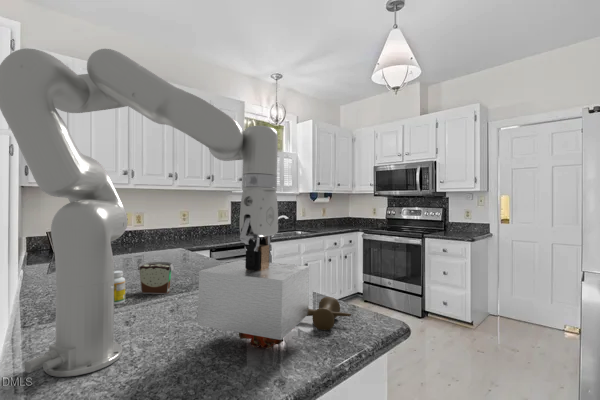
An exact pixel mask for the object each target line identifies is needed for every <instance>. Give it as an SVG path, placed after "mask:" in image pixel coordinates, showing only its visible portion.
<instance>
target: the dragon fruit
mask: <svg viewBox="0 0 600 400" xmlns="http://www.w3.org/2000/svg"><path fill="white" fill-rule="evenodd" d="M238 338H239V339H241V340H243V339H246V340H250V343H249V345H250V346H251V347H252V348H254V349H256V348H258V347H261V348H263V349H272V348H273V346H275V345H280V344H282V342H284V338H283V339H282V340H278V339H273V338H267V337H262V336H256V335H251V334H245V333H239V332H238Z"/></svg>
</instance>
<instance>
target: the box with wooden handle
mask: <svg viewBox="0 0 600 400" xmlns="http://www.w3.org/2000/svg"><path fill="white" fill-rule="evenodd" d="M258 251H260V270H247V269H246V268H245V265H246V259H244V260H243V259H238V260H234V261H230V262H227V263H223V264H219V265H217V266H212V267H208V268H205V269H201V270H199V272H198V302H197V303H198V304H197V305H198V306H197V307H198V308H197V326H201V327H208V328H212V329H217V330H224V331H228V332H229V331H230V332H234V333H238V334H239V333H245V334H251V335H256V336H262V337H267V338H273V339H278V340H282V339H283V340H284V338H285V337H287V335H288V334H289V333H290V332H291V331H293V329H294V328H296V327H297V326H298V325H299V324H300V323H301V322H302V321H303V320H304V319H305V318H306V317H308V316H307V315H308V309H310V307H309V302H310V300H309V299H310V265H301V264H289V263H282V262H281V263H278V262H270V248H269V245H260V244H259V250H258Z"/></svg>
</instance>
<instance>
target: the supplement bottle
mask: <svg viewBox="0 0 600 400" xmlns="http://www.w3.org/2000/svg"><path fill="white" fill-rule="evenodd" d="M123 276H124V272H123V270H114V306H115V305H120V304H123V303H125V301H126V278H125V277H123Z"/></svg>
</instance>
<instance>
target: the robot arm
mask: <svg viewBox="0 0 600 400" xmlns="http://www.w3.org/2000/svg"><path fill="white" fill-rule="evenodd" d="M86 70H87V71H86V72H87V73H84V74H77V73H76V72H74V70H72V69H71V68H70V67H69V66H67V64H65V63H64V62H62V61H61V60H60V59H59V58H57V57H55V56H53V55H52V54H50V53H48V52H46V51H43V50H40V49H36V48H27V47H26V48H20V49H17V50H14V51H12V52H11V53H9V54H8V55H7V56H5V58H4V59H3V60H2V61H1V63H0V112H1V114H2V116H3V118H4V119H5V120H4V121H5V122H6V123H7V125H8V127H9V128H10V131H11V132H12V134H13V137H14V139H15V141H16V143H17V146H18V147H19V150H20V152H21V154H22V156H23V158H24V159H25V162H26V164H27V166H28V168H29V170H30V172H31V175H32V177H33V179H34V181H35V183H36V184H37V186H38V188H39V190H41V191H42V192H44V193H45V194H46V195H49V196H52V197H56V198H65V199H68V201H69V202H68V203H66V204H64V205H63V206H62V207H61V208H59V209H58V210H57V212H56V213H55V215H53V218H52V221H51V225H50V237H51V242H52V246H53V252H54V258H55V261H54V262H55V336H54V337H55V339H54V341H55V343H53V344H50V345H49V347H48V351H46V352H45V353H44V354H43V355H41V356H38V357H35V358H33V359H31V360H27V361H26V362H25V363H24V370H25V372H26V373H28V374H29V373H32V372H34V371H37V370H39V369H41V368H42V369H43V371H44V372H45V373H46V375H49V376H53V377H57V378H59V377H60V378H68V377H77V376H82V375H85V374H89V373H93V372H96V371H99V370H102V369H104V368H106V367H108V366H110V365H113V363H115V362H117V360H119V359H120V357H121V356H122V354H123V347H122V345H121V344H119V343H118V342H114V337H115V336H114V331H115V327H114V324H115V323H114V321H115V319H114V317H115V314H114V313H115V312H114V310H115V309H114V308H115V305H114V271H115V266H114V265H115V264H114V263H115V262H114V256H113V255H114V254H113V250H112V243H111V242H114V241H115V240H117V239H119V238H120V237H122V235H124V233H125V232H126V230H127V228H128V223H129V221H128V220H129V219H128V214H127V211H126V209H125V206H124V205H123V202H122V200H121V198H120V197H119V194H118V192H117V189H116V188H115V186H114V182H112V179H111V178H110V175H109V173H108V172H107V170H106V169H105V168H104V166H103V165H102V164H101V163H100V162H99V161H98V160H96V159H94V158H93V157H91V156H88V155H85V154H83V153H82V152H81V151H80V150H79V148H78V146H77V145H76V143H75V141H74V138H73V137H72V135H71V132H70V130H69V129H68V126H67V124H66V123H65V121H64V119H63V118H62V117H61V115H60V113H59V112H58V110H59V111H61V112H64V113H67V114H83V113H92V112H101V111H106V110H113V109H120V108H126V107H129V108H130V109H133V110H134V111H136V112H137V113H139V114H140V115H142V116H144V117H146V118H147V119H148V120H150V121H152V122H154V123H156V124H158V125H166V126H170V127H172V128H174V129H177V130H178V131H180V132H182V133H183V134H185V135H186V136H188V137H190V138H192V139H193V140H195V141H197V142H199V144H202V145H204V146H205V147H207V149H208V150H209V152H210V154H211V155H212V156H213V157H214V158H215V159H217V160H220V161H223V162H230V161H231V162H232V161H242V175H241V176H242V179H241V181H242V183H241V190H242V193H241V199H240V201H241V202H240V206H239V207H240V208H239V209H240V210H239V232H240V235H239V240H240V241H241V242H242V243H243V246H244V251H245V260H246V265H245V268H246V269H247V270H260V251H258V250H259V244H260V245H269V249H270V248H271V240H272V238H273V236H274V235H277V234H278V232H279V210H278V209H279V205H278V196H277V189H278V188H277V185H278V149H279V148H278V144H279V140H278V139H279V138H278V137H279V136H278V135H279V134H278V131H277V130H276V129H275V128H273V127H271V126H265V125H251V126H248V127H246V129H245V130H243V129H242V127H241V125H240V124H239V123H238V121H236V120H235V119H234V118H233V117H231V116H230V115H229V114H227V113H225V112H224V111H222V110H221V109H219V108H218V107H216V106H215V105H213V104H212V103H210V102H208V101H206V100H204V99H203V98H201V97H200V96H197V95H195V94H192V93H191V92H188V91H185V90H184V89H182V88H179V87H176V86H175V85H173V84H172V83H170V82H168V81H167V80H165V79H163V78H162V77H160V76H158V75H157V74H155V73H153V72H152V71H150V70H149V69H148V68H146V67H144V66H143V65H141V64H140V63H138V62H136V61H134V60H133V59H131V58H130V57H128V56H126V55H125V54H124V53H121V52H119V51H117V50H114V49H111V48H100V49H97V50H95V51H93V52H92V53H91V54H90V55H89V57H88V59H87V63H86Z"/></svg>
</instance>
